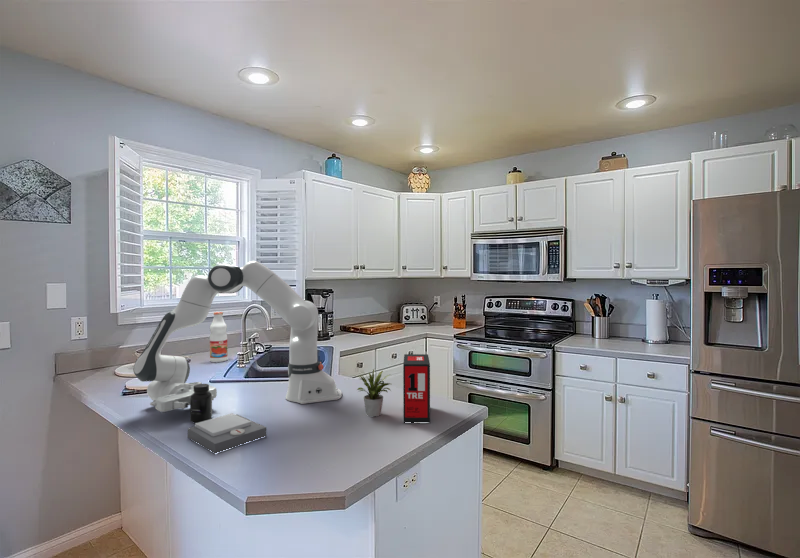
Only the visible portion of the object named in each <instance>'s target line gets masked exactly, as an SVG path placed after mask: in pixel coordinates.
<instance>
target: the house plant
mask: <svg viewBox="0 0 800 558" xmlns="http://www.w3.org/2000/svg"><path fill="white" fill-rule="evenodd" d="M383 372H384V370H381V371H380V372H379V373H378V374H377V376H375V369H372V372H371V373H372V374H371V373H370V372H368V375H369V376H368V375H367V374H365V372H361V373H362V374H360V373H359V374H358V375H357V377H358V378H360V379H361V380H362V382H363V385H364V386H365V387H366V388H367V390H366V389H365V388H363V387H358V388H357V389H356V391H357V393H358V392H366V393H367V394H366V395H364V396H363V403H364V407H365V415H366V414H367V415H368V416H367V415H366V416H367V417H370V416H376V417H380V416H381V415H380V414H382V410H383V409H382V408H383V403H384V402H383V401H384V396H383V395H381V393H382V392H385V393H388V390H389V391H390V392H392V390H391V389H390V388H389V387H386V386H389V385H391V383H390V382H384V380H386V379H387V377H389V376H390V374H387V375H386V376H384V377H383V378H382V374H383ZM363 374H365V376H366V378H367V379H366V378H365V377H364V376H363ZM351 376H355V377H356V375H351ZM367 380H368V381H367ZM379 415H380V416H379Z"/></svg>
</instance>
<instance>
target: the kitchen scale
mask: <svg viewBox="0 0 800 558" xmlns="http://www.w3.org/2000/svg"><path fill="white" fill-rule="evenodd" d="M264 436H267V426H264V425H263V424H260V423H258V422H255V421H254V420H252V419H251V420H250V419H249V418H247V417H244V416H242V415H240V414H234V413H232V412H231V413H228V414H225V415H222V416H217V417H214V418H211V419H210V420H206V421H202V422H199V423H194V426H191V427H187V438H188V439H189V438H190V439H189V440H191V439H192V440H193V442H194V441H195V442H194V443H196V442H197V443H199V444H200V445H202V446H204V447H205V448H207V449H209V450H211V451H212V452H214V453H217V452H220V451H223V450H226V449H229V448H232V447H235V446H238V445H240V444H244V443H246V442H249V441H253V440H255V439H258V438H261V437H264ZM192 440H191V441H192ZM253 442H254V441H253ZM197 443H196V444H197ZM199 444H198V445H199ZM200 445H199V446H200ZM244 445H245V444H244ZM202 446H201V447H202ZM204 447H203V448H204ZM205 448H204V449H205ZM207 449H206V450H207ZM209 450H208V451H209ZM212 452H211V453H212ZM214 453H213V454H214Z"/></svg>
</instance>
